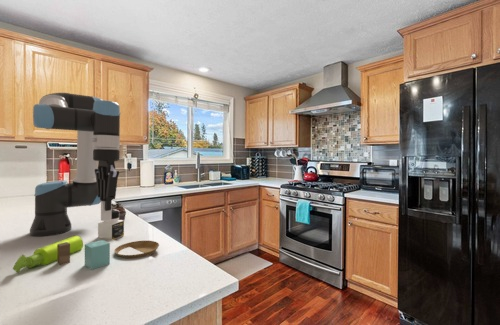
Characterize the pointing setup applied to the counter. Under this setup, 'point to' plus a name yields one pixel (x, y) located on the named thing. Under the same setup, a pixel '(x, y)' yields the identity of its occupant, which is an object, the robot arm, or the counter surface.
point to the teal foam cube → (97, 254)
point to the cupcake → (120, 209)
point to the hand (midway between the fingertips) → (106, 219)
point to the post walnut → (63, 253)
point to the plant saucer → (139, 248)
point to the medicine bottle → (111, 227)
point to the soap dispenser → (47, 254)
